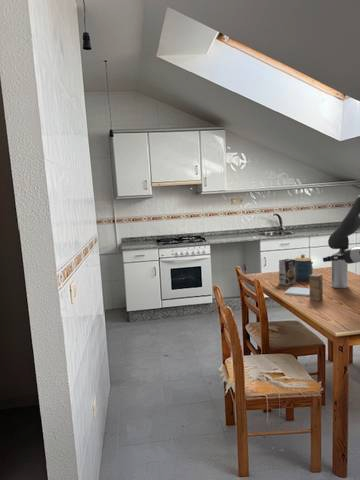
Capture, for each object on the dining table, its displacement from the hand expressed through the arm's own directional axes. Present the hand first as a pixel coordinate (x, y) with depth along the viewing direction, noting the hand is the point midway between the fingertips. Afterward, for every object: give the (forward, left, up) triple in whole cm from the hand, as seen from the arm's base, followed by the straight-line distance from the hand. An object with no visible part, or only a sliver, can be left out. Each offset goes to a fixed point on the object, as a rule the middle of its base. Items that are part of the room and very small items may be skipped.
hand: (328, 259), depth 201 cm
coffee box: (-34, -31, -24) cm, 52 cm away
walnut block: (-3, -7, -24) cm, 25 cm away
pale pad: (-15, -19, -24) cm, 34 cm away
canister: (-49, -24, -24) cm, 60 cm away
